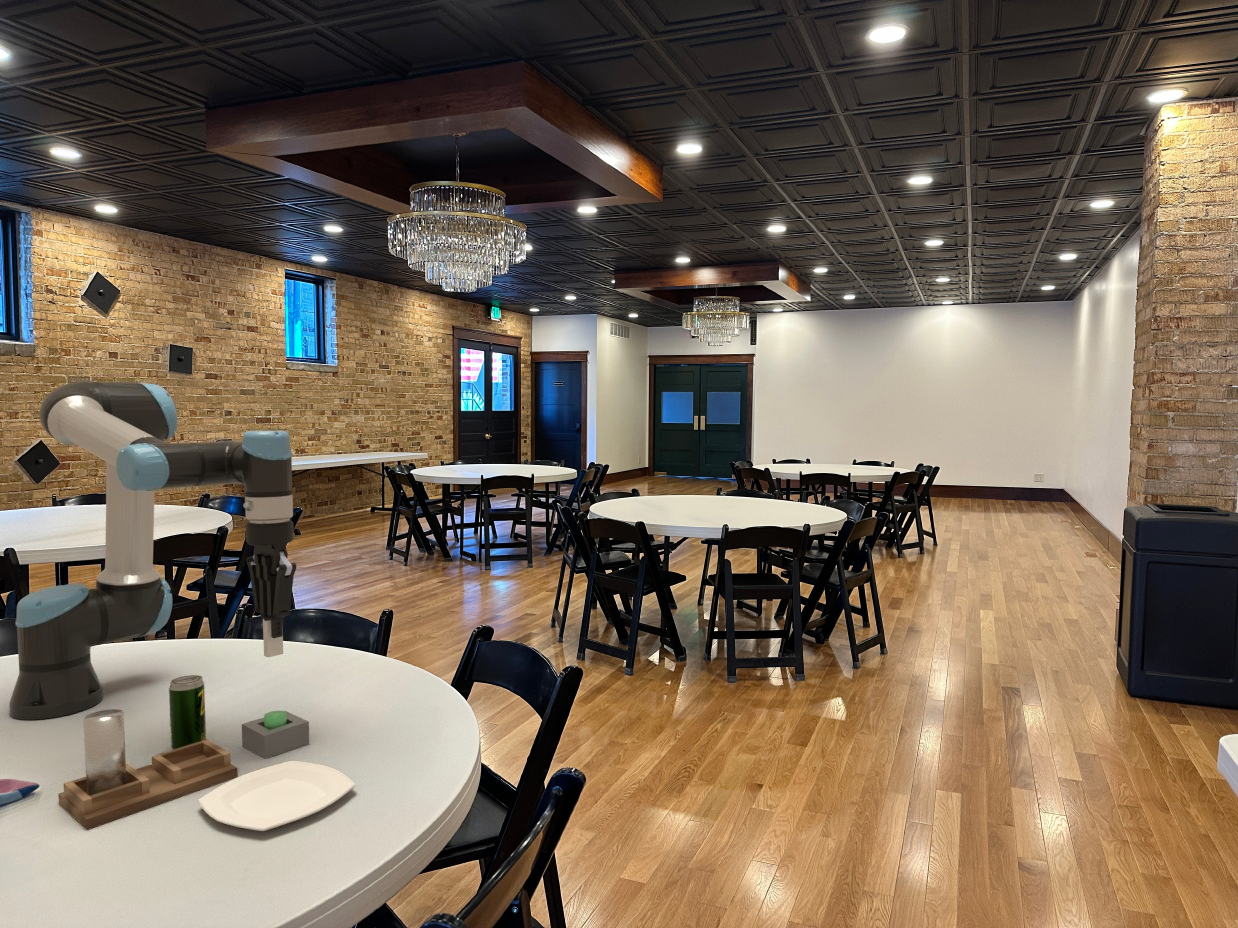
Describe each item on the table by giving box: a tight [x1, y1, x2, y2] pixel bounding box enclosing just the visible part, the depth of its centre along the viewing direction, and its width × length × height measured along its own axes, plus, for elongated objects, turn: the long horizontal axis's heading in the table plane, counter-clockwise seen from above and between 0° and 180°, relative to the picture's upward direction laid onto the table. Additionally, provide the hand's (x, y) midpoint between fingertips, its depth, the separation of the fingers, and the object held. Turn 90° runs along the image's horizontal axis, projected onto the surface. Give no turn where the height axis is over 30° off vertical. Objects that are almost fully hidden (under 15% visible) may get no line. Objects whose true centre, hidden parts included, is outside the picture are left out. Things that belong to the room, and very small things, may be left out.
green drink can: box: [168, 674, 207, 750], centre depth 139 cm, size 5×5×12 cm
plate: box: [197, 760, 357, 832], centre depth 119 cm, size 19×19×2 cm
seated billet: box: [82, 708, 127, 796], centre depth 118 cm, size 5×5×12 cm
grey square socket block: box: [241, 710, 310, 760], centre depth 140 cm, size 8×8×4 cm
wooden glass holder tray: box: [57, 738, 239, 831], centre depth 123 cm, size 12×21×4 cm, turn 141°
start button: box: [263, 710, 287, 730], centre depth 139 cm, size 4×4×3 cm
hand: (273, 654), depth 139 cm, fingers closed
